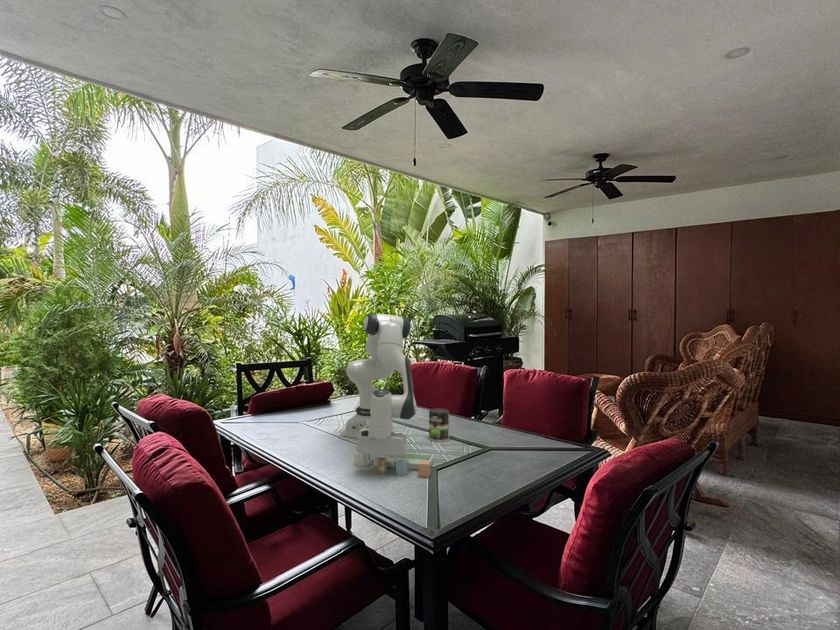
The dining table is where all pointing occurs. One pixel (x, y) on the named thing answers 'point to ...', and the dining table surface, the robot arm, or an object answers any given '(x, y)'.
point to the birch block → (380, 465)
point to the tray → (411, 460)
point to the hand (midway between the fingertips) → (381, 465)
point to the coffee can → (439, 424)
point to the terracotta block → (424, 468)
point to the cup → (360, 459)
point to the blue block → (402, 466)
